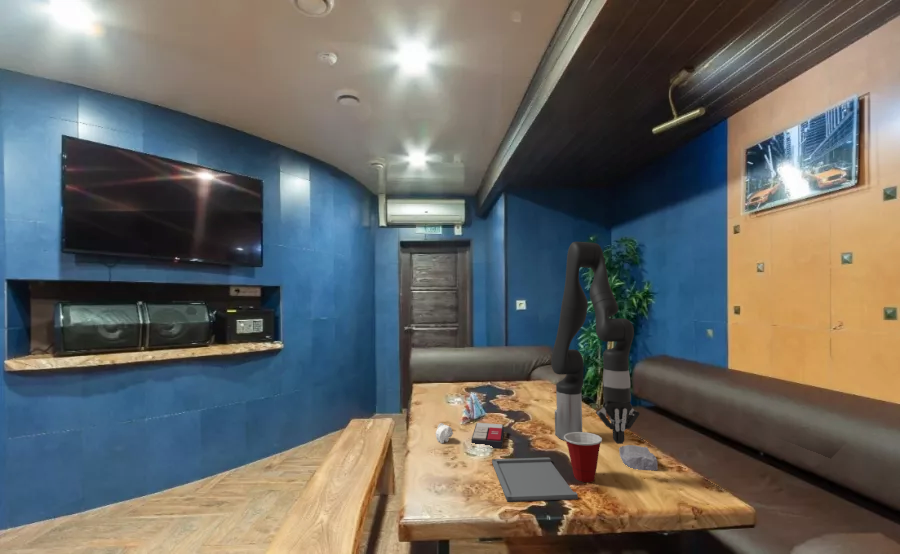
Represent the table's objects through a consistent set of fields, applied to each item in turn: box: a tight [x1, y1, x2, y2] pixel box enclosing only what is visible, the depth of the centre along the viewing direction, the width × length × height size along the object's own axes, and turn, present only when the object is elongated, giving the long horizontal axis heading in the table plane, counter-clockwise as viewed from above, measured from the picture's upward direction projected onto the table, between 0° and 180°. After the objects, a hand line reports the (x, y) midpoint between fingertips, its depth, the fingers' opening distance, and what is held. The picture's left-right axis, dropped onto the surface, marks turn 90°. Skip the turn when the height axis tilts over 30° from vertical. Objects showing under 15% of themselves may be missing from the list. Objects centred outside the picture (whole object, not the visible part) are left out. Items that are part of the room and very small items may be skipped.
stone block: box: [618, 444, 659, 472], centre depth 116 cm, size 12×5×10 cm
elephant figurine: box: [434, 422, 454, 444], centre depth 133 cm, size 7×8×6 cm
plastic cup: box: [564, 431, 603, 483], centre depth 106 cm, size 11×11×12 cm
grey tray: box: [491, 457, 579, 503], centre depth 105 cm, size 19×22×1 cm
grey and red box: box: [470, 422, 505, 450], centre depth 134 cm, size 11×4×15 cm
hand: (618, 442), depth 107 cm, fingers closed
